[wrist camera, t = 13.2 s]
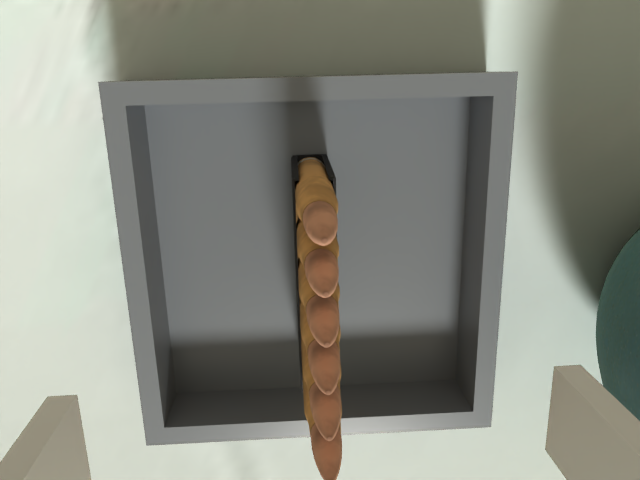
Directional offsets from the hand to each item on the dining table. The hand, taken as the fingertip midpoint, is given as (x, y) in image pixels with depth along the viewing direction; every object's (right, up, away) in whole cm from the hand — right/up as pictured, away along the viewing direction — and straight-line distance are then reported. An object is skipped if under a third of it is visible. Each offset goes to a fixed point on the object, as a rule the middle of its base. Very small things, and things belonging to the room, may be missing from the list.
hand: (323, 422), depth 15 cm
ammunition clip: (0, +4, +14) cm, 15 cm away
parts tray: (0, +5, +15) cm, 16 cm away
